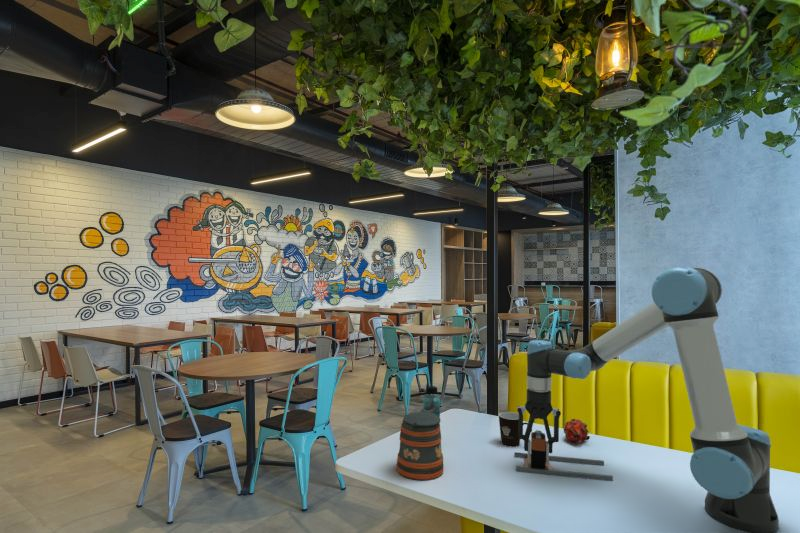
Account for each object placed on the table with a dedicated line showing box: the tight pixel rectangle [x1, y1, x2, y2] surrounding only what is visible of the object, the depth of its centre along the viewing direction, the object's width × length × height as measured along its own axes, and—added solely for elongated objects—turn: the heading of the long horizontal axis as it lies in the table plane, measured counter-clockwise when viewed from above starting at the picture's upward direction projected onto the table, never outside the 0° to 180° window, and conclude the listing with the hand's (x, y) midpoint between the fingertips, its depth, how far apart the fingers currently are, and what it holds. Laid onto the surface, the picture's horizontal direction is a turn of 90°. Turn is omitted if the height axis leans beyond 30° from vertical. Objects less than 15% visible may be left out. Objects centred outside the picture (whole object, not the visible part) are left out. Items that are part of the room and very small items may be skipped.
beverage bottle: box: [422, 385, 441, 425], centre depth 163 cm, size 6×7×20 cm
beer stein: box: [395, 398, 445, 481], centre depth 143 cm, size 19×15×20 cm
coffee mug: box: [498, 411, 533, 448], centre depth 162 cm, size 12×9×10 cm
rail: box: [513, 452, 614, 482], centre depth 144 cm, size 12×28×1 cm, turn 79°
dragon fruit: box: [563, 418, 591, 445], centre depth 167 cm, size 8×8×12 cm
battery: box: [530, 429, 547, 469], centre depth 145 cm, size 4×7×10 cm, turn 164°
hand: (537, 461), depth 145 cm, fingers open, 5 cm apart
